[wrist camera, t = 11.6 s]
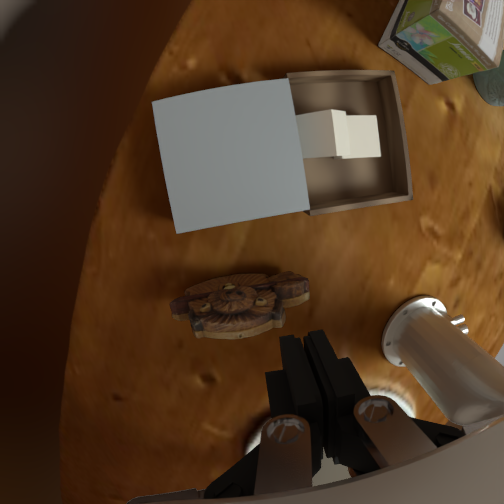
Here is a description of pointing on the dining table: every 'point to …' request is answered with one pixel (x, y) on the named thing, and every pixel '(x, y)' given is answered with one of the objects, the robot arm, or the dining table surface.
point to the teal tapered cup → (491, 84)
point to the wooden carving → (240, 304)
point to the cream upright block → (323, 134)
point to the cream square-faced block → (362, 137)
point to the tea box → (446, 37)
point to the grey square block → (231, 154)
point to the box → (355, 169)
